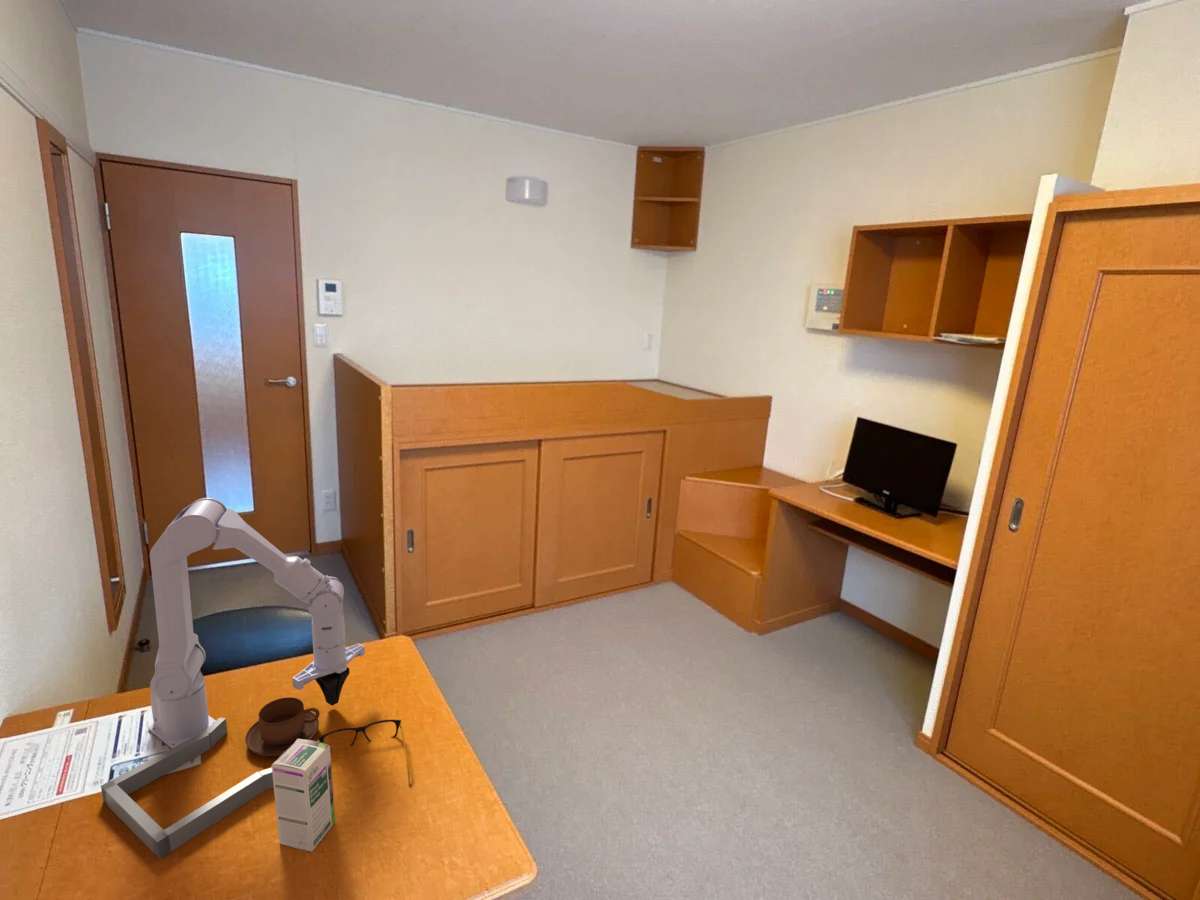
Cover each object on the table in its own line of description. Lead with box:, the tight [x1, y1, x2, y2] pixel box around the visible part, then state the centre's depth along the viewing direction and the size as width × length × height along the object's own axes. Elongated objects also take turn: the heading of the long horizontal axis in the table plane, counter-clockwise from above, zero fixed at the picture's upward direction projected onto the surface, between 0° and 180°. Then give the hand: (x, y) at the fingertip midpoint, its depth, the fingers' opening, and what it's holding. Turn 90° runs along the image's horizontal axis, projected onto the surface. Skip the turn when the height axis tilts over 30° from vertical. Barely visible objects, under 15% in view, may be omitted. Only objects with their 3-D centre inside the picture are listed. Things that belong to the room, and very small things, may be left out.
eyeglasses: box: [317, 719, 411, 788], centre depth 107 cm, size 14×14×4 cm
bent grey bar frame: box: [100, 717, 274, 860], centre depth 101 cm, size 21×19×3 cm
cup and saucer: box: [244, 696, 321, 757], centre depth 113 cm, size 12×12×6 cm
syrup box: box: [271, 738, 336, 853], centre depth 93 cm, size 6×6×14 cm
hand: (332, 702), depth 122 cm, fingers closed
